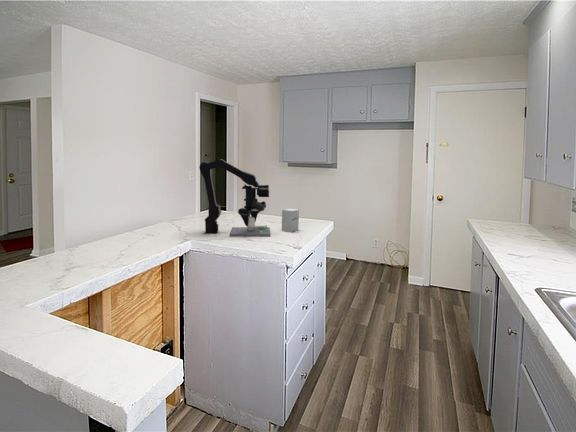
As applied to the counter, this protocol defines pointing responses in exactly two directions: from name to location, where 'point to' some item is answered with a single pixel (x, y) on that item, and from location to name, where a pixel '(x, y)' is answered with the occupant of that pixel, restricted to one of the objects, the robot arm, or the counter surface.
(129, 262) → the counter surface
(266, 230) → the dial plate
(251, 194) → the robot arm
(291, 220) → the supplement box
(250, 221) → the tuning peg
